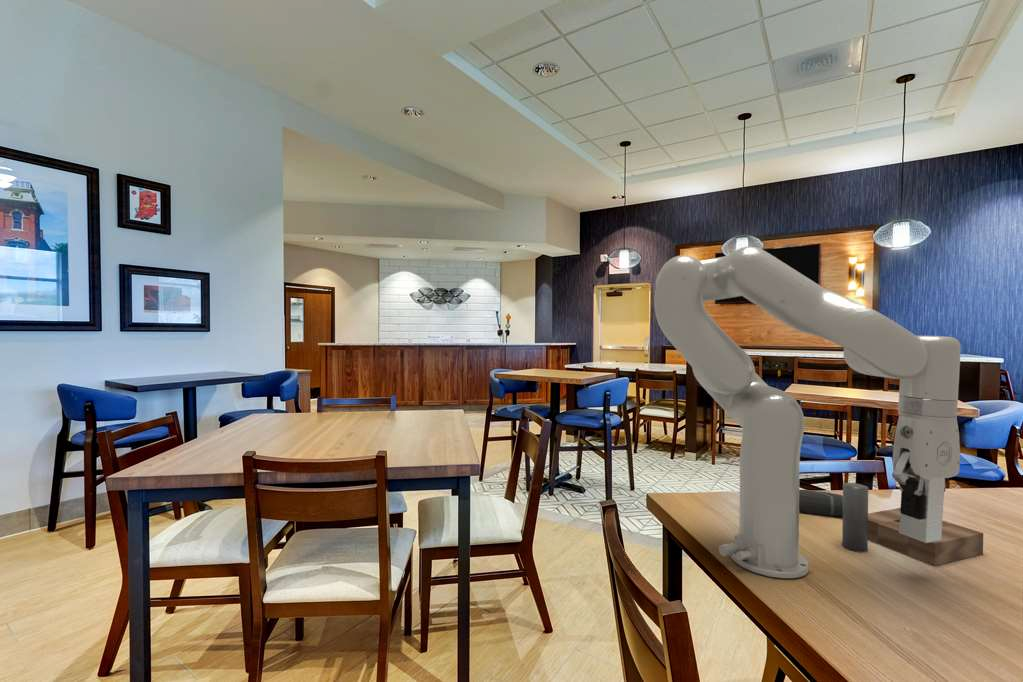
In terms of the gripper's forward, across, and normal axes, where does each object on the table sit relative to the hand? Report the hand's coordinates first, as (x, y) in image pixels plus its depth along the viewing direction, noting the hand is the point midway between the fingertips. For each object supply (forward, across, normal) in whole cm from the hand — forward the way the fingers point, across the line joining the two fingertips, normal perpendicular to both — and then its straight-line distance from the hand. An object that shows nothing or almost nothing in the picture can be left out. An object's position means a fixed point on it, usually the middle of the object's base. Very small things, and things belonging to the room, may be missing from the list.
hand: (921, 514), depth 81 cm
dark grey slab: (+12, +5, +28) cm, 31 cm away
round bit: (+11, +1, +11) cm, 16 cm away
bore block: (+10, +14, +8) cm, 19 cm away
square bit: (+4, 0, 0) cm, 4 cm away
